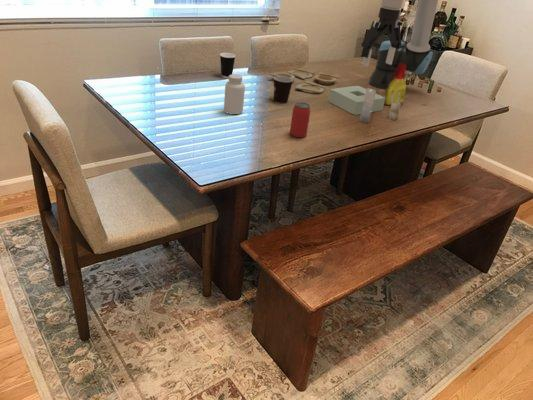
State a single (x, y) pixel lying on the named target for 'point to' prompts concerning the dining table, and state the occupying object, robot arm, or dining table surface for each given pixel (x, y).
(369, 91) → the long pin
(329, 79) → the tableware set
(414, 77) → the dining table surface
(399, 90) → the bottle
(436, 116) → the dining table surface
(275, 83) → the coffee mug
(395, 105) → the short pin
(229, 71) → the dixie cup
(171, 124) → the dining table surface
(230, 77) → the pill bottle
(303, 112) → the beer can
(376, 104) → the pin block
